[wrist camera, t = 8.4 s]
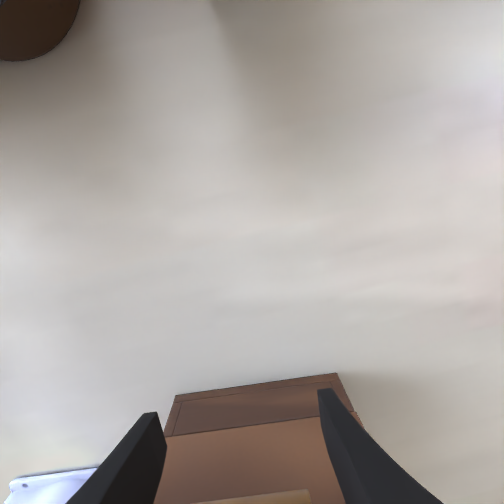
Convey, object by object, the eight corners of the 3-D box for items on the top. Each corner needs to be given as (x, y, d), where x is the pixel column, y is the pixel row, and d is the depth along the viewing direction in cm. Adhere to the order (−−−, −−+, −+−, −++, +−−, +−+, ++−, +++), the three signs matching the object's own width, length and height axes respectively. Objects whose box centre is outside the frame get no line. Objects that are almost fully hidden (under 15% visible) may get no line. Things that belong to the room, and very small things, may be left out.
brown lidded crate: (345, 468, 25) (362, 518, 21) (201, 487, 25) (192, 539, 21) (336, 372, 22) (354, 410, 18) (175, 395, 22) (161, 437, 19)
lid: (531, 775, 7) (536, 673, 6) (16, 827, 7) (-33, 735, 6) (356, 418, 18) (351, 368, 17) (160, 445, 18) (148, 397, 18)
